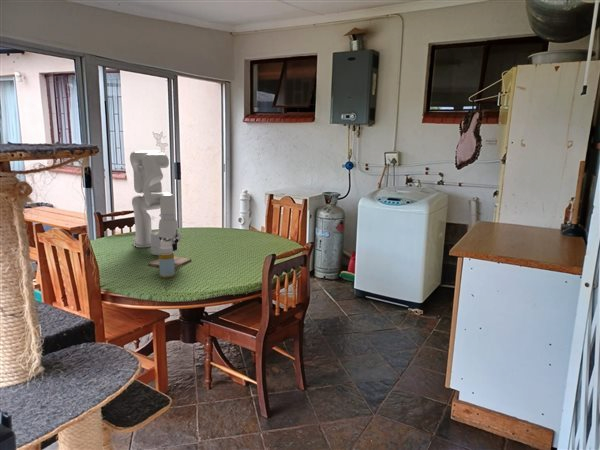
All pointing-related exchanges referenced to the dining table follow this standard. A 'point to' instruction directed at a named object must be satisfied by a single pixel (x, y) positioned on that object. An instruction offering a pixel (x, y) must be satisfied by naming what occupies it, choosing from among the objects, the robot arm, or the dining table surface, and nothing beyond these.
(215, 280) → the dining table surface
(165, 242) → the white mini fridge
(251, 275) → the dining table surface
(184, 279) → the dining table surface
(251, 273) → the dining table surface
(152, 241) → the supplement box
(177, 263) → the brown rectangular plate
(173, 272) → the bottle
